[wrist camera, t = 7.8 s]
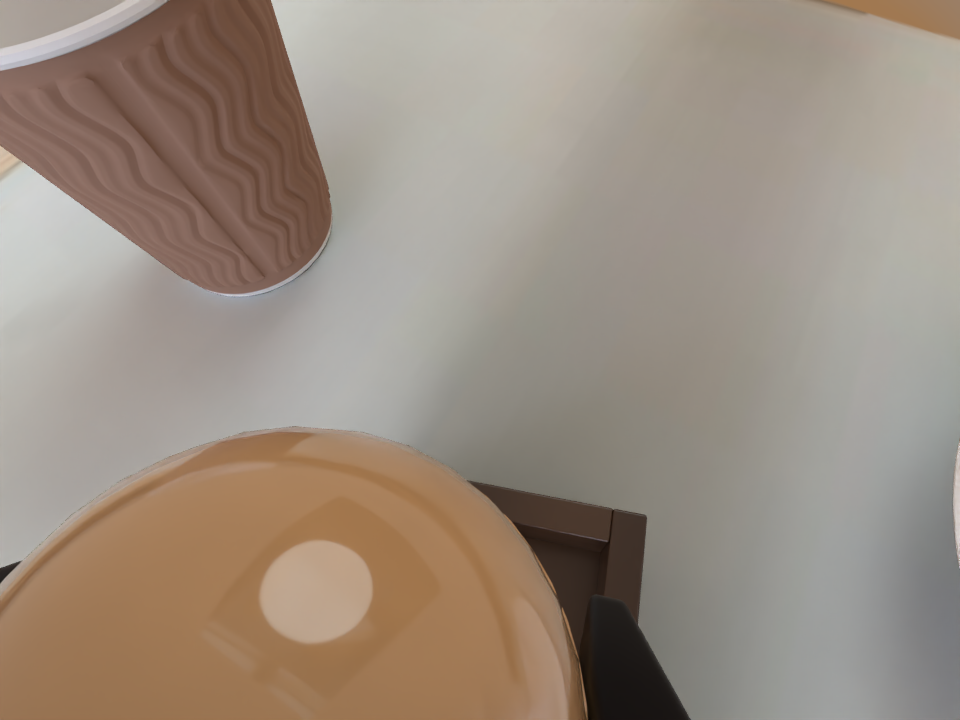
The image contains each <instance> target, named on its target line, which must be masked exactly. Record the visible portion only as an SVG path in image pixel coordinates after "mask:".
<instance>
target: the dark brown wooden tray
mask: <svg viewBox="0 0 960 720" xmlns="http://www.w3.org/2000/svg"><path fill="white" fill-rule="evenodd" d="M467 481H468V480H467ZM468 482H469V483H470V484H471V485H473V486H474V487H475V488H477V489H478V490H479V491H480V492H482V493H483V494H484V495H486V496H487V497H488V498H489V499H490V500H491V501H492V502H493V503H494V504H495V505H496V506H497V507H498V508H500V510H501V511H502V512H503V513H504V514H505V515H506V516H507V517H508V518H509V519H510V520H511V521H512V523H513V524H514V525H515V527H516V528H517V529H518V531H519V532H520V533H521V535H522V536H523V537H524V539H525V540H526V541H527V543H528V544H529V545H530V547H531V548H532V549H533V551H534V553H535V554H536V556H537V558H538V560H539V561H540V563H541V565H542V566H543V568H544V570H545V572H546V573H547V575H548V577H549V579H550V580H551V582H552V584H553V587H554V589H555V591H556V594H557V596H558V598H559V600H560V602H561V605H562V608H563V610H564V613H565V615H566V617H567V620H568V623H569V627H570V630H571V634H572V637H573V640H574V644H575V647H576V651H577V654H578V658H579V650H580V644H581V639H582V633H583V628H584V623H585V617H586V612H587V607H588V602H589V599H590V597H591V596H592V595H594V594H596V595H601V596H606V597H610V598H615V599H619V600H622V601H623V602H624V603H625V604H626V605H627V606H628V608H629V610H630V612H631V614H632V615H633V617H634V619H635V621H636V622H637V624H638V617H639V606H640V594H641V582H642V571H643V559H644V548H645V536H646V524H647V516H646V515H643V514H638V513H633V512H628V511H623V510H618V509H614V510H612V509H611V508H607V507H602V506H597V505H592V504H587V503H581V502H576V501H571V500H566V499H561V498H556V497H550V496H545V495H540V494H535V493H530V492H524V491H519V490H514V489H509V488H504V487H499V486H493V485H488V484H483V483H478V482H473V481H468Z"/></svg>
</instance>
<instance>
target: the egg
mask: <svg viewBox="0 0 960 720" xmlns="http://www.w3.org/2000/svg"><path fill="white" fill-rule="evenodd" d="M0 720H588V716H587V703H586V697H585V691H584V685H583V679H582V673H581V667H580V662H579V658H578V654H577V651H576V647H575V644H574V640H573V637H572V634H571V630H570V627H569V623H568V620H567V617H566V615H565V613H564V610H563V608H562V605H561V602H560V600H559V598H558V596H557V594H556V591H555V589H554V587H553V584H552V582H551V580H550V579H549V577H548V575H547V573H546V572H545V570H544V568H543V566H542V565H541V563H540V561H539V560H538V558H537V556H536V554H535V553H534V551H533V549H532V548H531V547H530V545H529V544H528V543H527V541H526V540H525V539H524V537H523V536H522V535H521V533H520V532H519V531H518V529H517V528H516V527H515V525H514V524H513V523H512V521H511V520H510V519H509V518H508V517H507V516H506V515H505V514H504V513H503V512H502V511H501V510H500V508H498V507H497V506H496V505H495V504H494V503H493V502H492V501H491V500H490V499H489V498H488V497H487V496H486V495H484V494H483V493H482V492H480V491H479V490H478V489H477V488H475V487H474V486H473V485H471V484H470V483H469V482H468V481H467V480H465V479H464V478H463V477H462V476H461V475H459V474H458V473H457V472H456V471H455V470H453V469H452V468H450V467H448V466H447V465H445V464H443V463H441V462H439V461H437V460H435V459H433V458H432V457H430V456H428V455H426V454H424V453H422V452H420V451H418V450H417V449H415V448H413V447H411V446H409V445H406V444H402V443H399V442H396V441H392V440H389V439H385V438H382V437H379V436H375V435H372V434H368V433H365V432H358V431H346V430H333V429H321V428H309V427H297V426H292V427H283V428H274V429H265V430H256V431H247V432H242V433H239V434H236V435H232V436H229V437H226V438H222V439H219V440H216V441H212V442H209V443H206V444H202V445H199V446H196V447H193V448H190V449H188V450H185V451H182V452H180V453H177V454H174V455H172V456H169V457H167V458H165V459H163V460H161V461H159V462H157V463H155V464H153V465H151V466H149V467H147V468H145V469H143V470H141V471H139V472H137V473H135V474H133V475H131V476H129V477H127V478H124V479H122V480H120V481H119V482H117V483H116V484H114V485H113V486H112V487H110V488H109V489H107V490H106V491H104V492H103V493H102V494H100V495H99V496H97V497H96V498H94V499H93V500H92V501H90V502H89V503H87V504H86V505H84V506H83V507H82V508H80V509H79V510H77V511H76V512H74V513H73V514H72V515H71V516H69V517H68V518H67V519H66V520H65V521H64V522H63V523H62V524H61V525H60V526H59V527H58V528H57V529H56V530H54V531H53V532H52V533H51V534H50V535H49V536H48V537H47V538H46V539H45V540H44V541H43V542H42V543H41V544H39V545H38V546H37V547H36V548H35V549H34V550H33V551H32V552H31V553H30V554H29V555H28V556H27V557H26V558H25V559H24V560H23V561H22V562H21V563H20V564H19V565H18V566H17V567H16V568H15V569H14V570H13V571H12V572H11V573H10V574H9V575H8V576H7V577H6V578H5V579H4V580H3V581H2V582H1V584H0Z"/></svg>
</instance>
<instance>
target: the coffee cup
mask: <svg viewBox="0 0 960 720" xmlns="http://www.w3.org/2000/svg"><path fill="white" fill-rule="evenodd" d="M0 146H2V147H3V148H4V149H6V150H7V151H9V152H10V153H11V154H13V155H14V156H15V157H17V158H18V159H20V160H21V161H22V162H24V163H25V164H27V165H28V166H29V167H31V168H32V169H34V170H35V171H36V172H38V173H39V174H40V175H42V176H43V177H44V178H46V179H47V180H48V181H50V182H51V183H53V184H54V185H55V186H57V187H58V188H59V189H61V190H62V191H63V192H65V193H66V194H68V195H69V196H70V197H72V198H73V199H74V200H76V201H77V202H79V203H80V204H81V205H83V206H84V207H85V208H87V209H88V210H90V211H91V212H92V213H94V214H95V215H96V216H98V217H99V218H101V219H102V220H103V221H105V222H106V223H108V224H109V225H110V226H112V227H113V228H114V229H116V230H117V231H118V232H120V233H121V234H122V235H124V236H125V237H127V238H128V239H129V240H131V241H132V242H133V243H135V244H136V245H138V246H139V247H140V248H142V249H143V250H144V251H146V252H147V253H149V254H150V255H151V256H153V257H154V258H155V259H157V260H158V261H159V262H161V263H162V264H164V265H165V266H166V267H168V268H169V269H171V270H172V271H173V272H175V273H176V274H178V275H179V276H180V277H182V278H183V279H186V280H189V281H191V282H192V283H195V284H196V285H198V286H200V287H202V288H204V289H205V290H207V291H209V292H213V293H216V294H219V295H223V296H232V297H241V296H253V295H257V294H261V293H266V292H269V291H271V290H273V289H276V288H278V287H281V286H283V285H285V284H286V283H288V282H290V281H292V280H293V279H295V278H297V277H298V276H299V275H300V274H301V273H303V272H304V271H305V270H306V269H308V268H309V267H310V266H311V264H312V263H313V262H314V261H315V260H316V259H317V258H318V257H319V255H320V253H321V252H322V250H323V249H324V247H325V245H326V244H327V241H328V238H329V235H330V233H331V228H332V220H333V217H332V209H331V203H330V199H329V198H330V194H329V191H328V190H329V187H328V184H327V180H326V177H325V174H324V171H323V167H322V164H321V161H320V158H319V155H318V152H317V148H316V145H315V142H314V138H313V135H312V132H311V129H310V126H309V122H308V119H307V116H306V113H305V109H304V106H303V103H302V100H301V96H300V93H299V90H298V87H297V84H296V80H295V77H294V74H293V71H292V67H291V64H290V61H289V58H288V55H287V51H286V48H285V45H284V42H283V38H282V35H281V32H280V29H279V25H278V22H277V19H276V16H275V12H274V9H273V6H272V3H271V0H0Z"/></svg>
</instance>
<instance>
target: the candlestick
mask: <svg viewBox="0 0 960 720" xmlns="http://www.w3.org/2000/svg"><path fill="white" fill-rule="evenodd" d="M953 517H954V533H955V541H956V549H957V557H958V562H959V568H960V439H959V444H958V448H957V455H956V462H955V470H954V484H953Z"/></svg>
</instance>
